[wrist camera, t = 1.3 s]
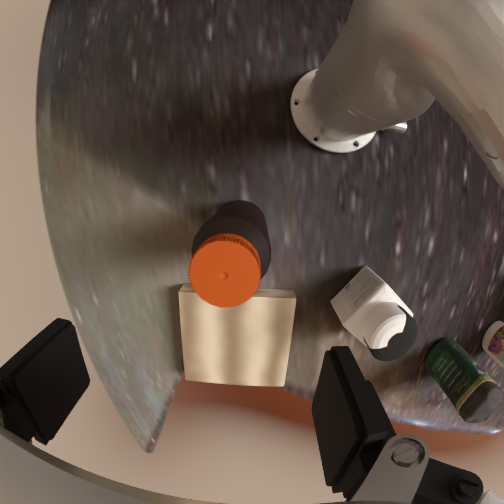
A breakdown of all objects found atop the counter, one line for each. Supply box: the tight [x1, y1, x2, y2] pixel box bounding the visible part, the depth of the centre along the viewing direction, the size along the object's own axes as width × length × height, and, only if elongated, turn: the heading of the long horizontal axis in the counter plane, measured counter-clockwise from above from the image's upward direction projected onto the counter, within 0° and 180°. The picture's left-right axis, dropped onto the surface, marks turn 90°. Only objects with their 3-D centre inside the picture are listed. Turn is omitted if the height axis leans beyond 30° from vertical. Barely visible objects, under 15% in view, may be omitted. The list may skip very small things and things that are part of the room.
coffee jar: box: [425, 338, 503, 423], centre depth 35 cm, size 10×8×19 cm
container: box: [331, 266, 417, 361], centre depth 34 cm, size 8×8×13 cm
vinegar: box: [188, 200, 271, 308], centre depth 28 cm, size 7×7×20 cm
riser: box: [179, 284, 296, 386], centre depth 41 cm, size 16×16×3 cm
